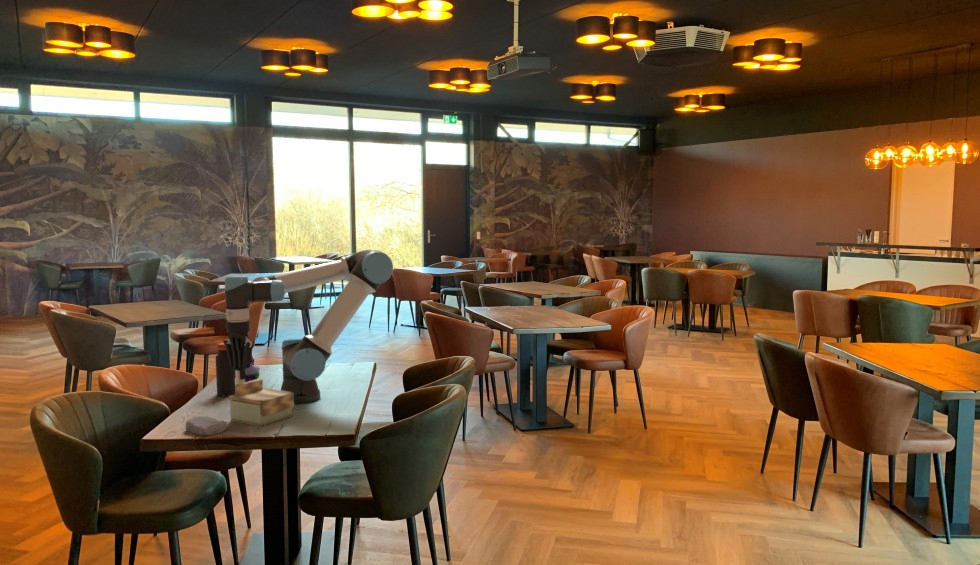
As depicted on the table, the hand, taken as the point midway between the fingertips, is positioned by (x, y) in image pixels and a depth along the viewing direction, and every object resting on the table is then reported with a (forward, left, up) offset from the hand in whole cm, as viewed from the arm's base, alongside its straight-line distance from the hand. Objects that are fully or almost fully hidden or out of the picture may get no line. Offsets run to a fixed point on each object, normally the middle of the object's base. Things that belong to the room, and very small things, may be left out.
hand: (240, 388), depth 247 cm
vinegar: (-18, -29, -10) cm, 36 cm away
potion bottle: (-34, -34, -10) cm, 49 cm away
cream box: (0, +10, -9) cm, 14 cm away
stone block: (+18, +5, -10) cm, 21 cm away
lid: (0, +10, -6) cm, 12 cm away
